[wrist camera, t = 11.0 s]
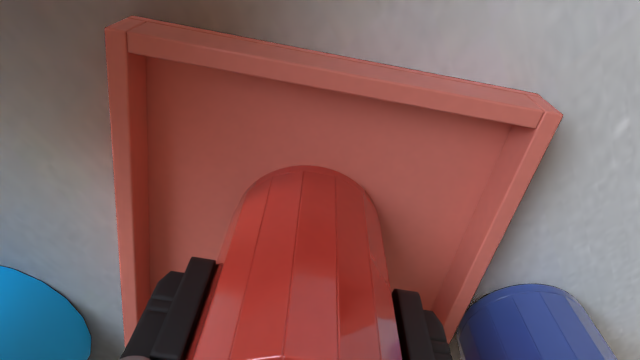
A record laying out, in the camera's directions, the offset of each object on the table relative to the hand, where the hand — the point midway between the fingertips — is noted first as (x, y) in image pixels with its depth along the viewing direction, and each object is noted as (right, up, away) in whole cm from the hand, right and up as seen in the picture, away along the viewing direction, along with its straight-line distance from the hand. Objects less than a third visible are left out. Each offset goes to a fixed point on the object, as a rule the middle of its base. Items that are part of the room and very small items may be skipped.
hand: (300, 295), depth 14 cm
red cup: (0, +2, +3) cm, 3 cm away
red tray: (0, +2, +3) cm, 4 cm away
